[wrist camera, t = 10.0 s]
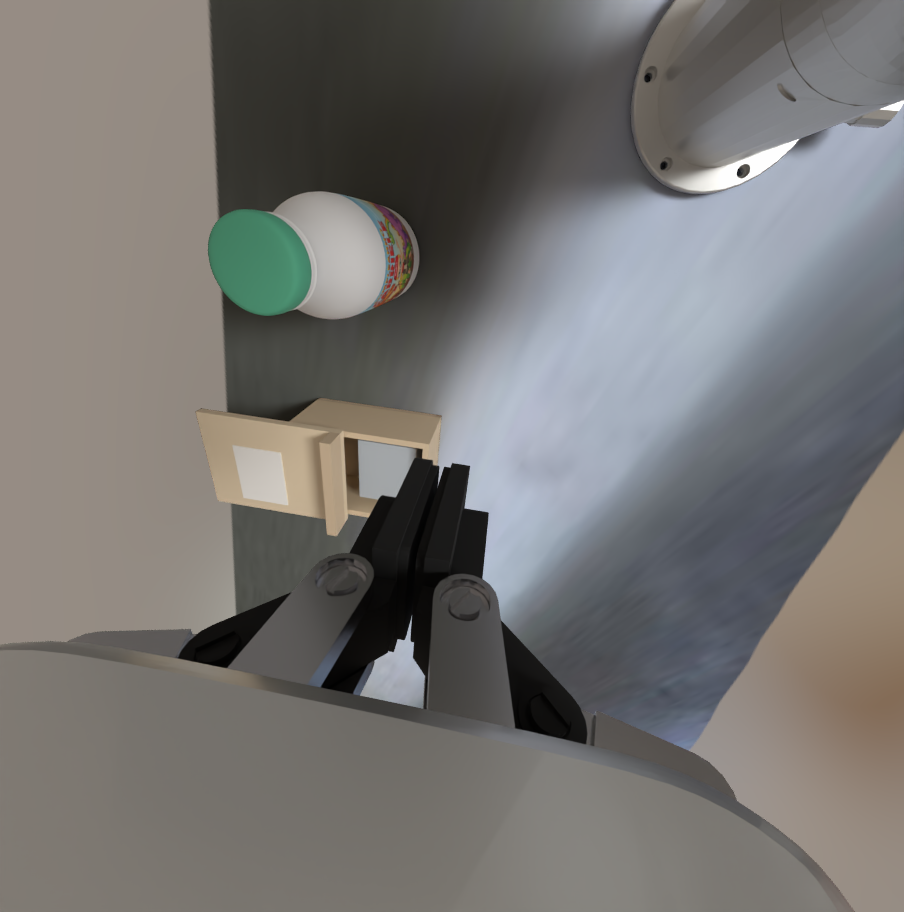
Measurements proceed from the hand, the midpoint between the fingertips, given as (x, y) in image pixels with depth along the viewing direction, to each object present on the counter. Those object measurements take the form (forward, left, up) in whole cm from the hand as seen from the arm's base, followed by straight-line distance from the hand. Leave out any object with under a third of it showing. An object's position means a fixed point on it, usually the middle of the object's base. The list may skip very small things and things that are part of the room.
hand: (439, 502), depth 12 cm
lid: (+20, +15, -22) cm, 33 cm away
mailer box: (+11, +15, -29) cm, 35 cm away
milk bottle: (+11, -5, -29) cm, 32 cm away
